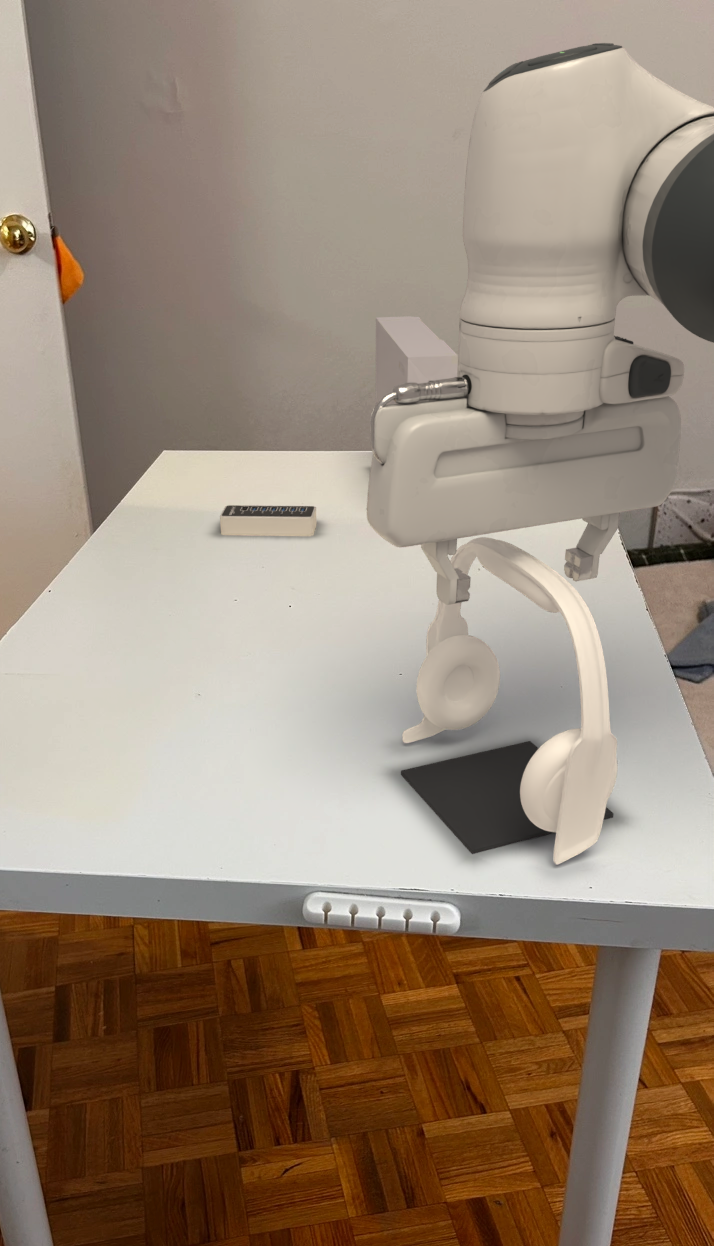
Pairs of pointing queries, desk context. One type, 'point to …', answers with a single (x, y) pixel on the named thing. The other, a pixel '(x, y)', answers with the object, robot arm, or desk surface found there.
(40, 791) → the desk surface
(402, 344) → the game console
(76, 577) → the desk surface
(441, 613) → the headset
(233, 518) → the multiport hub
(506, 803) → the desk mat
